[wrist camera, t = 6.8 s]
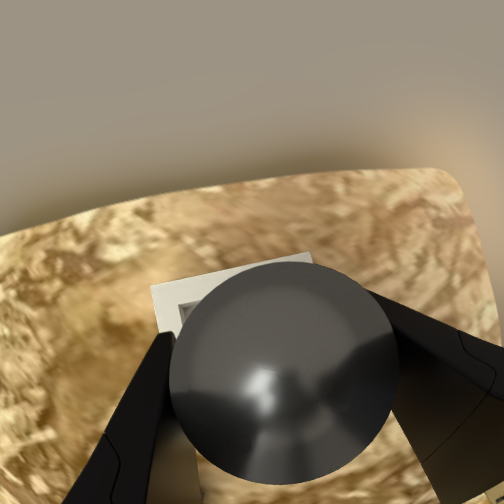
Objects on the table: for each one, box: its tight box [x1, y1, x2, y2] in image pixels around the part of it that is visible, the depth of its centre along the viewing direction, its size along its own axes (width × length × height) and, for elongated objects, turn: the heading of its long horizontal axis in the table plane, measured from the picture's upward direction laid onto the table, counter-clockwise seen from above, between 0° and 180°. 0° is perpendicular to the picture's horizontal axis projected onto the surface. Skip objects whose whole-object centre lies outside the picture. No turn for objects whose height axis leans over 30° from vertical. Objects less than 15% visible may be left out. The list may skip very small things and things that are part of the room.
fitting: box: [169, 261, 400, 485], centre depth 9 cm, size 5×5×9 cm
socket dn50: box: [150, 251, 313, 339], centre depth 16 cm, size 9×9×3 cm
